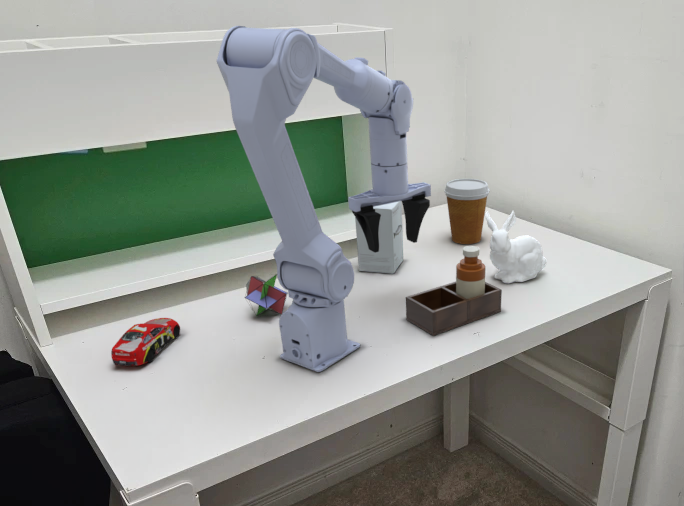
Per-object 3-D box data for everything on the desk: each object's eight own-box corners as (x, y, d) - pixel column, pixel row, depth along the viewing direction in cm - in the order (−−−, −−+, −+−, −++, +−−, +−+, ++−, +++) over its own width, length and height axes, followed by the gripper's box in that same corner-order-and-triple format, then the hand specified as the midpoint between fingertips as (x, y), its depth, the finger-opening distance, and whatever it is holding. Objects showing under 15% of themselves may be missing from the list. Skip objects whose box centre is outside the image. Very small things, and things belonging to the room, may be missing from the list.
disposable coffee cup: (442, 233, 146) (441, 178, 140) (484, 231, 147) (486, 177, 141) (446, 248, 138) (446, 191, 132) (491, 246, 139) (493, 189, 133)
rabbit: (497, 288, 120) (499, 224, 114) (474, 270, 128) (476, 209, 121) (554, 277, 125) (559, 215, 118) (529, 261, 132) (533, 201, 126)
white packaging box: (394, 274, 126) (391, 209, 119) (357, 271, 127) (352, 207, 121) (404, 260, 132) (402, 198, 126) (369, 257, 133) (365, 195, 127)
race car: (156, 328, 107) (150, 305, 105) (187, 330, 106) (182, 308, 104) (106, 368, 96) (99, 344, 94) (141, 371, 95) (134, 347, 93)
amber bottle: (475, 314, 109) (476, 256, 104) (450, 307, 112) (450, 250, 106) (489, 304, 113) (491, 247, 107) (465, 297, 115) (466, 241, 110)
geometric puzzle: (305, 296, 112) (275, 258, 110) (285, 313, 106) (252, 272, 104) (279, 315, 116) (249, 278, 114) (258, 332, 110) (226, 293, 108)
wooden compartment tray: (433, 336, 104) (432, 312, 102) (406, 319, 109) (405, 297, 107) (501, 311, 112) (501, 289, 110) (472, 297, 117) (473, 275, 115)
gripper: (412, 151, 110) (415, 230, 117) (335, 164, 102) (343, 248, 109) (438, 159, 105) (438, 241, 112) (359, 173, 97) (365, 260, 104)
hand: (393, 245), depth 110 cm, fingers open, 7 cm apart
